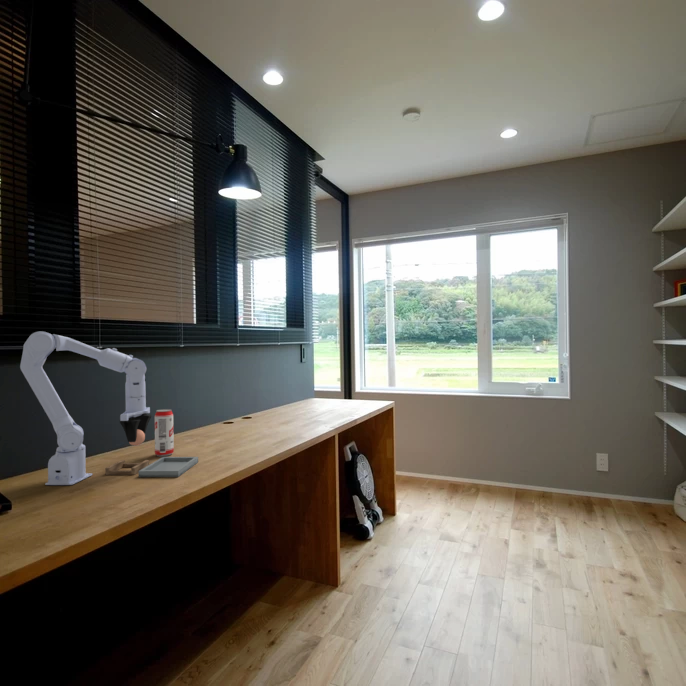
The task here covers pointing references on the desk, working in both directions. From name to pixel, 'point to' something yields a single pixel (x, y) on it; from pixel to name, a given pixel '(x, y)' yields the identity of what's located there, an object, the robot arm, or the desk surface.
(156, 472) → the tray
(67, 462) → the robot arm
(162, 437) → the beer can
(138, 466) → the frame
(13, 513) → the desk surface
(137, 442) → the ball
